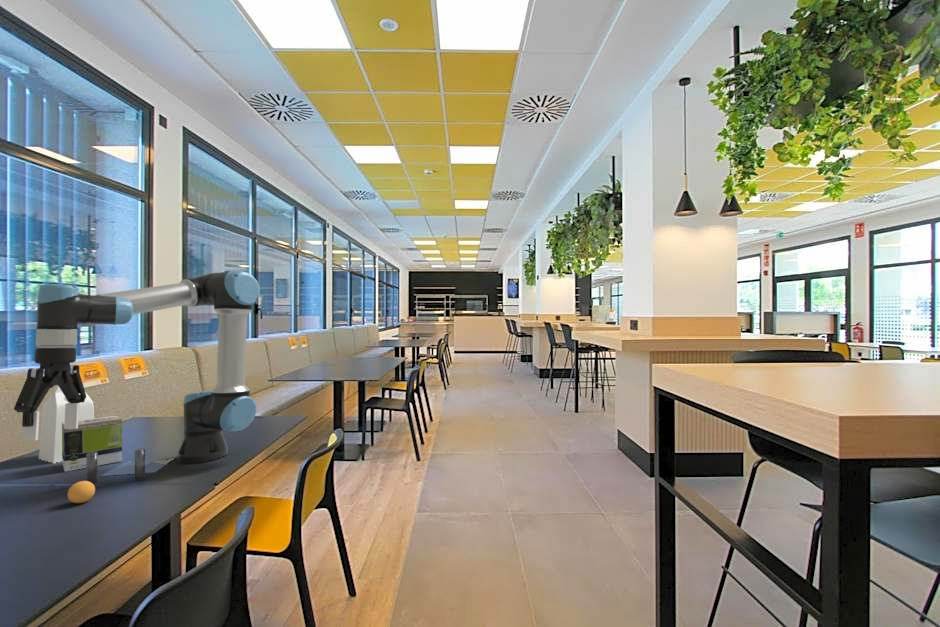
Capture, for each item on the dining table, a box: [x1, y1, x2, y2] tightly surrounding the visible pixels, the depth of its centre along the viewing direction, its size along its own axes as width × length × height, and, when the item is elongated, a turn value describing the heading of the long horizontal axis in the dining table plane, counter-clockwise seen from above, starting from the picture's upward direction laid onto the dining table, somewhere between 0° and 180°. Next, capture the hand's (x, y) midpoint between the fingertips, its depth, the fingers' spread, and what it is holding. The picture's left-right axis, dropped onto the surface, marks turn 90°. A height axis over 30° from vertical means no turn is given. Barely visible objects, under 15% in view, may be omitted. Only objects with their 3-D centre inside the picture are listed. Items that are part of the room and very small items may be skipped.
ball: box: [67, 480, 96, 504], centre depth 118 cm, size 6×6×6 cm
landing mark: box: [100, 460, 168, 477], centre depth 148 cm, size 15×15×1 cm
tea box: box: [61, 415, 123, 472], centre depth 152 cm, size 15×10×15 cm, turn 134°
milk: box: [38, 385, 95, 464], centre depth 161 cm, size 12×12×26 cm
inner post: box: [134, 448, 146, 482], centre depth 135 cm, size 2×2×9 cm
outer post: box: [85, 451, 99, 485], centre depth 133 cm, size 2×2×9 cm
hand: (51, 434), depth 110 cm, fingers open, 13 cm apart
